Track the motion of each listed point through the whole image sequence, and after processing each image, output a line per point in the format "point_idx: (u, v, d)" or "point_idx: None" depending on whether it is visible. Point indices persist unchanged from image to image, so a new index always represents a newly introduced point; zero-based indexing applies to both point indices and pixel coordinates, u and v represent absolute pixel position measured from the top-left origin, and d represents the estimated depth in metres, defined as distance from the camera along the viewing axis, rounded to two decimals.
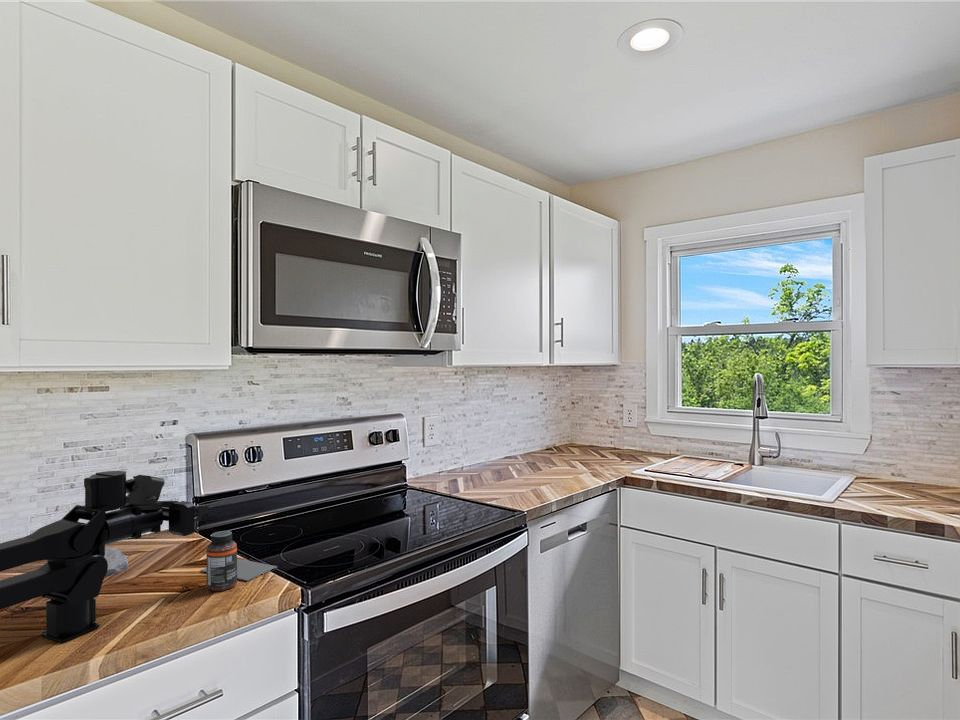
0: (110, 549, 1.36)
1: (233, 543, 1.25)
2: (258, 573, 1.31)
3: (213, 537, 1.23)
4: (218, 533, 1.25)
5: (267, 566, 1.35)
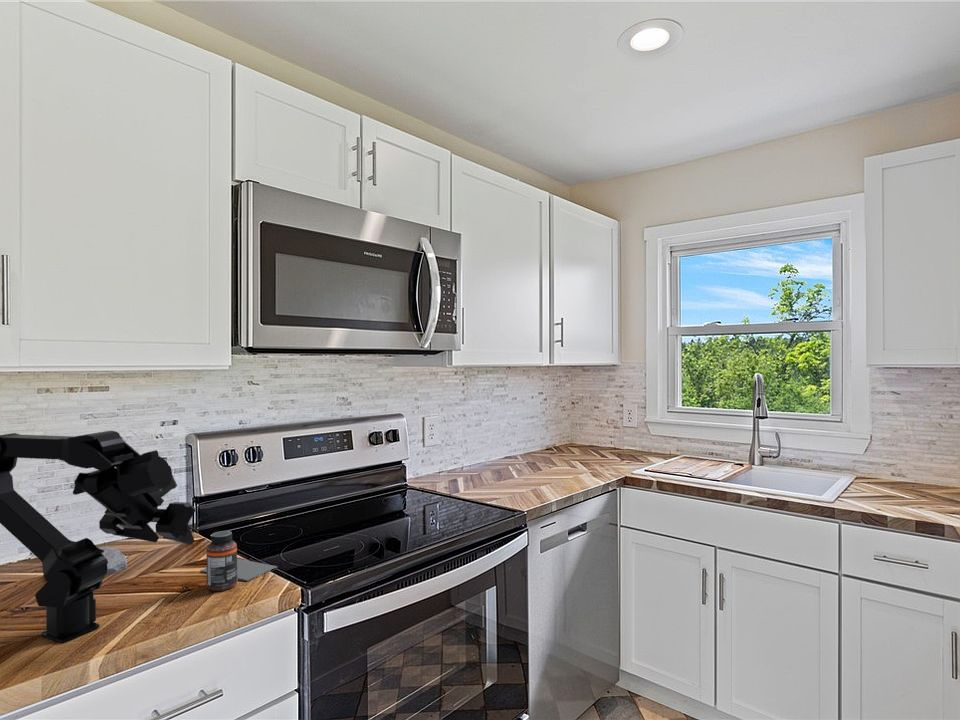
0: (109, 549, 1.37)
1: (233, 543, 1.25)
2: (258, 573, 1.31)
3: (213, 537, 1.23)
4: (218, 533, 1.25)
5: (267, 566, 1.35)
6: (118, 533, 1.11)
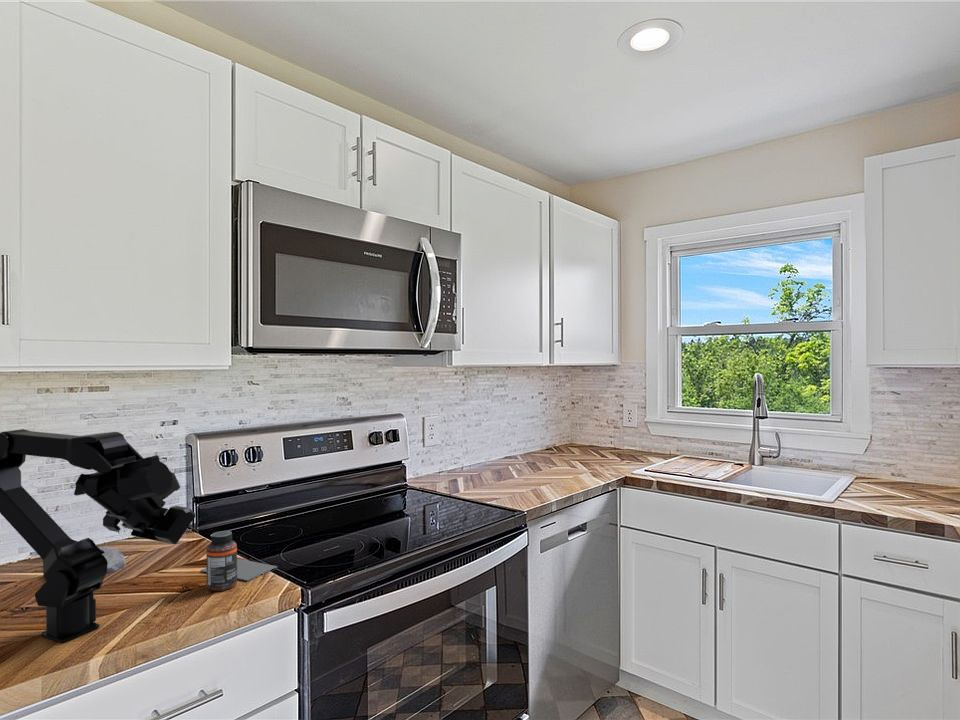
0: (107, 548, 1.37)
1: (233, 543, 1.25)
2: (258, 573, 1.31)
3: (213, 537, 1.23)
4: (218, 533, 1.25)
5: (267, 566, 1.35)
6: (136, 534, 1.09)
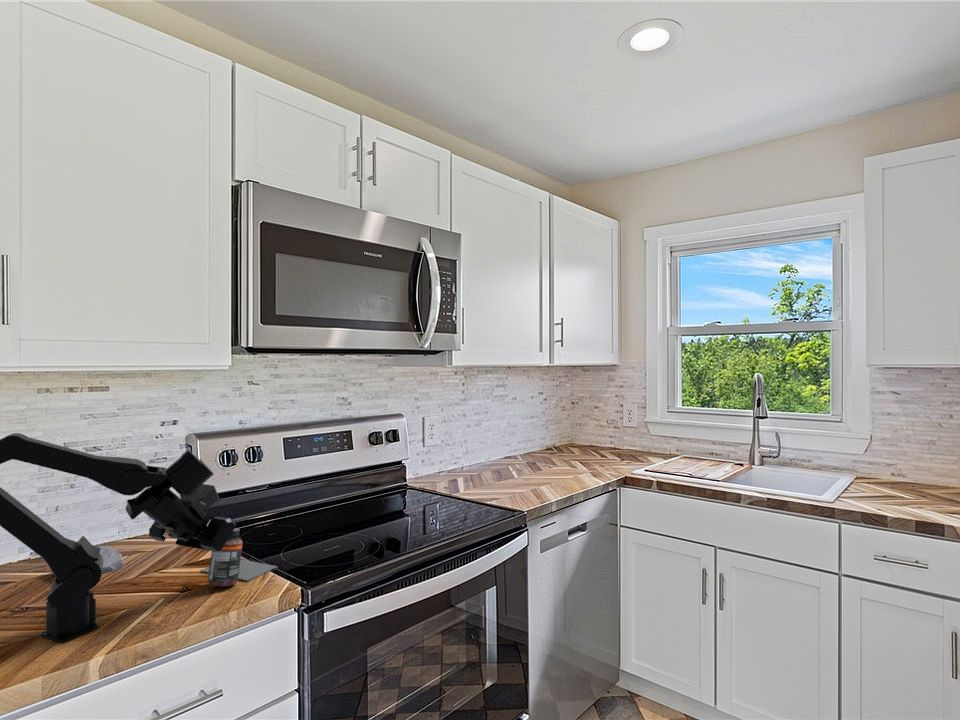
0: (105, 547, 1.38)
1: (239, 540, 1.26)
2: (258, 573, 1.31)
3: None
4: None
5: (267, 566, 1.35)
6: (181, 543, 1.18)
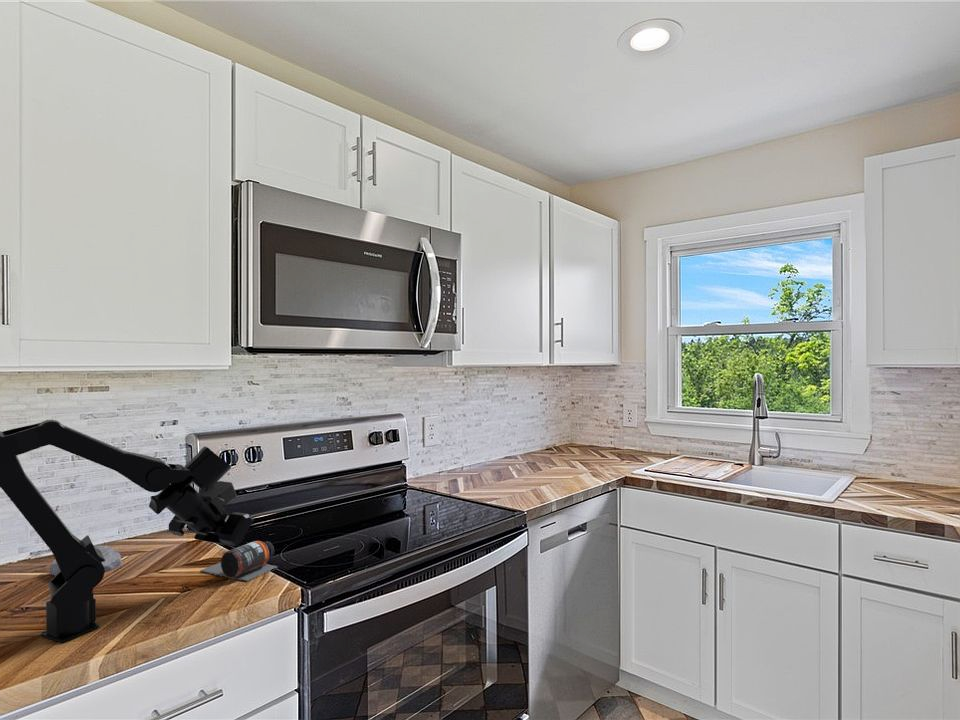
0: (103, 547, 1.38)
1: None
2: (258, 573, 1.31)
3: None
4: None
5: (267, 566, 1.35)
6: (199, 538, 1.22)
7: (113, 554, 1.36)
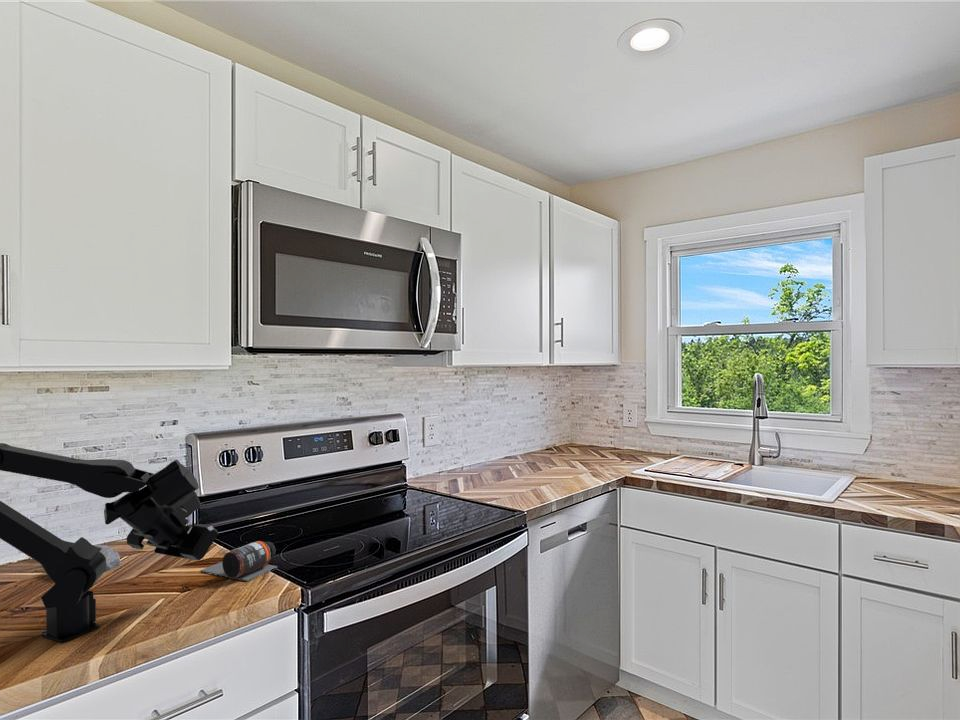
0: (102, 546, 1.38)
1: None
2: (258, 573, 1.31)
3: (266, 542, 1.38)
4: None
5: (267, 566, 1.35)
6: (160, 551, 1.14)
7: (112, 554, 1.36)
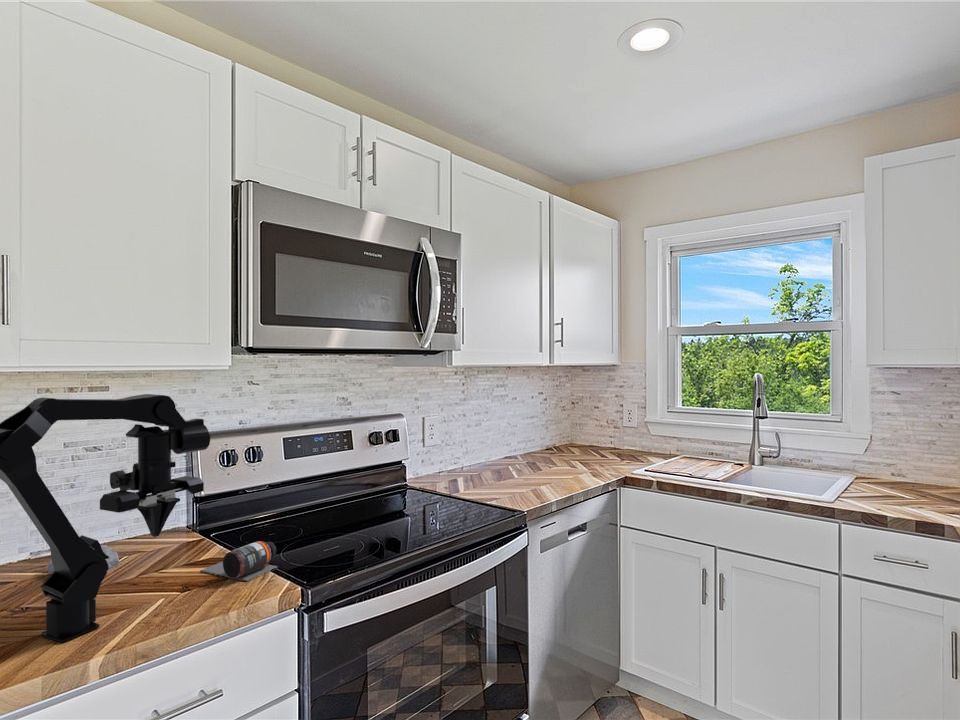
0: (101, 546, 1.39)
1: None
2: (258, 573, 1.31)
3: (267, 542, 1.38)
4: None
5: (267, 566, 1.35)
6: (155, 505, 1.14)
7: (111, 553, 1.37)
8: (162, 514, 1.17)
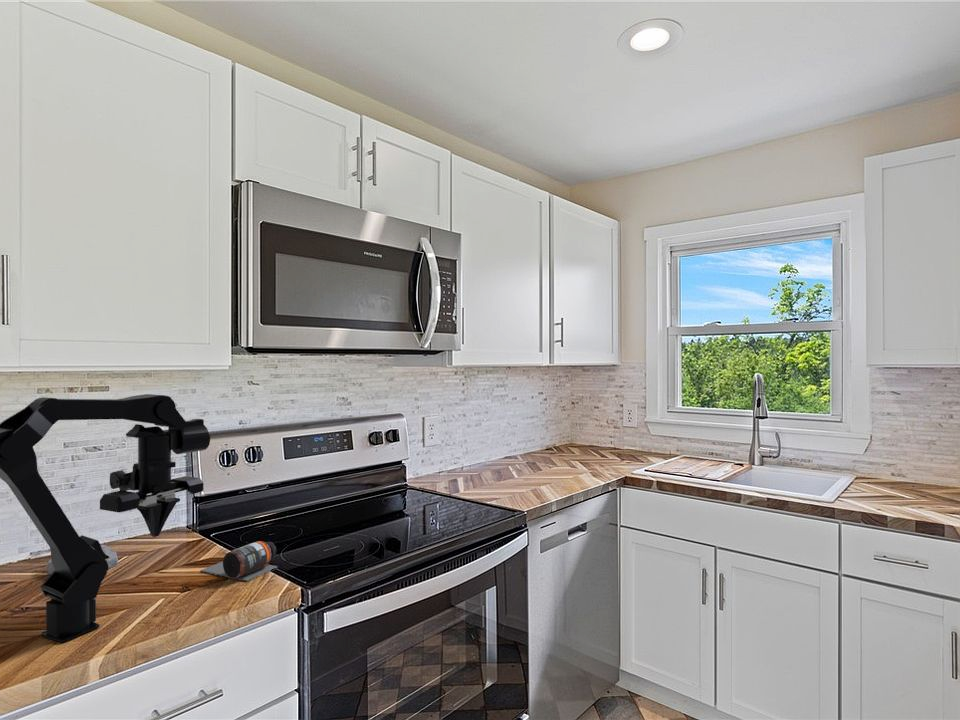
0: None
1: None
2: (258, 573, 1.31)
3: (267, 542, 1.38)
4: None
5: (267, 566, 1.35)
6: (155, 505, 1.14)
7: (109, 553, 1.37)
8: (162, 514, 1.17)
